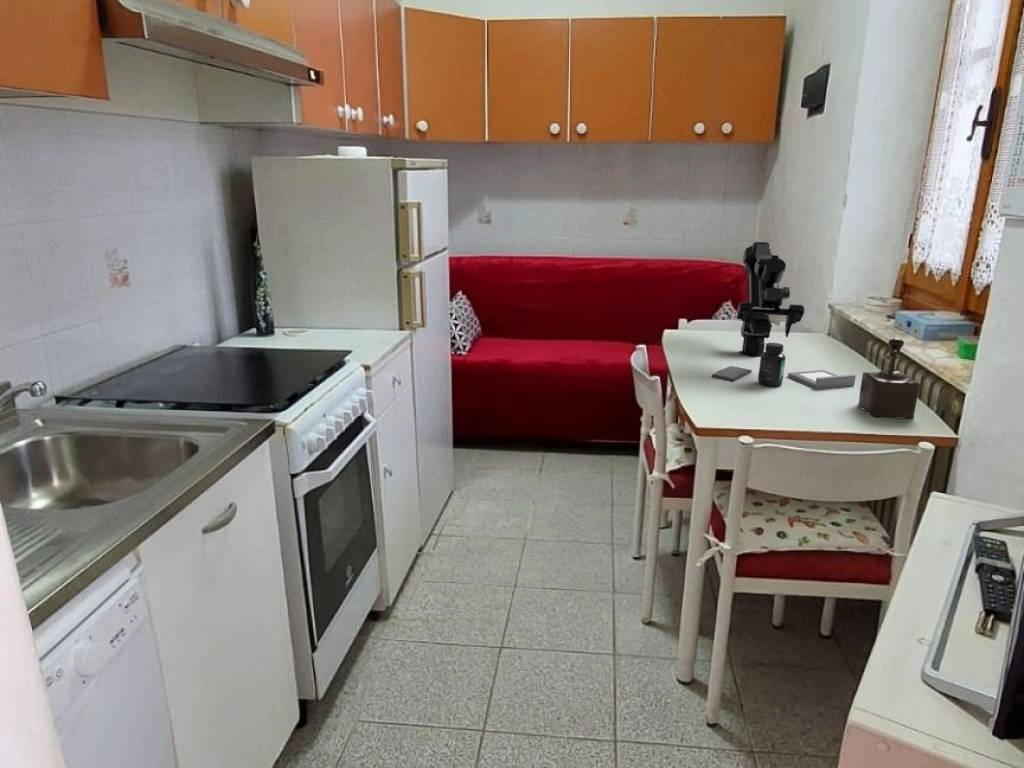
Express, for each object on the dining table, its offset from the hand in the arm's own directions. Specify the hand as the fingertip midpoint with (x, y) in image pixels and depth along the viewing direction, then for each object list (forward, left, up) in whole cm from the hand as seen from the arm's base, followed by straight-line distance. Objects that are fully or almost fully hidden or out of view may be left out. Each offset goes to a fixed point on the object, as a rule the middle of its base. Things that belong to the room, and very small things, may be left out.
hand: (771, 335), depth 210 cm
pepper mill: (+34, +5, -13) cm, 37 cm away
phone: (-7, -8, -13) cm, 16 cm away
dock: (+10, +11, -13) cm, 20 cm away
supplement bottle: (+5, -5, -13) cm, 15 cm away
